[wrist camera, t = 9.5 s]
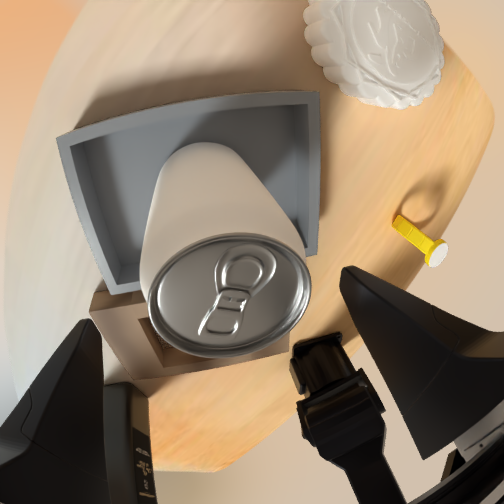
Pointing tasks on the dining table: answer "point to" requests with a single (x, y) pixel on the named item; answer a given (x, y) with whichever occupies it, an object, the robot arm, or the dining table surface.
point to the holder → (153, 339)
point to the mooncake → (377, 48)
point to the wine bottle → (128, 445)
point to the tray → (171, 140)
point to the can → (220, 257)
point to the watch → (422, 241)
